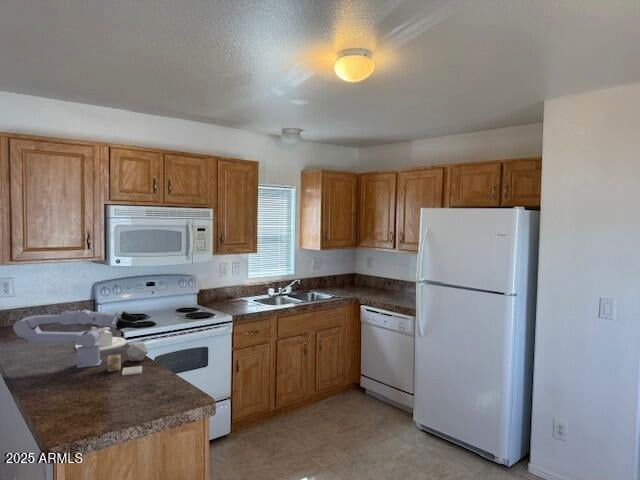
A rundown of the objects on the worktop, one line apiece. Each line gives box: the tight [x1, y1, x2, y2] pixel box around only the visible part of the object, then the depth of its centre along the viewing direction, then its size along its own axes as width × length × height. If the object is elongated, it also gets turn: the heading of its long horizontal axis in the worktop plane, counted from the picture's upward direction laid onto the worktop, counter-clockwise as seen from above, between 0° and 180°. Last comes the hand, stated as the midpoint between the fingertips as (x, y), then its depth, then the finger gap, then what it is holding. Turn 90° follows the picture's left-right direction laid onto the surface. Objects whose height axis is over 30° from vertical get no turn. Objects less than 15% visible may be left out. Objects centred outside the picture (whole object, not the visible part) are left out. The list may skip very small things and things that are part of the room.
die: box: [126, 342, 149, 362], centre depth 217 cm, size 8×9×10 cm
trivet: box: [121, 365, 143, 376], centre depth 201 cm, size 8×8×1 cm
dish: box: [74, 326, 127, 352], centre depth 243 cm, size 25×25×11 cm
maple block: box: [107, 354, 122, 372], centre depth 204 cm, size 5×5×6 cm
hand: (135, 322), depth 214 cm, fingers open, 7 cm apart
